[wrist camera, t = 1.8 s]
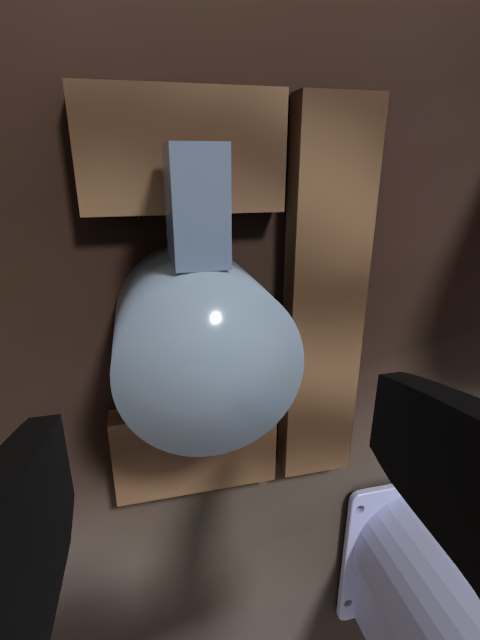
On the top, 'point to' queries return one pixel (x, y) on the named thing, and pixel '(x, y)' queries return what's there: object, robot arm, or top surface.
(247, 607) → the top surface
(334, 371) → the brown wooden panels
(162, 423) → the grey round flask
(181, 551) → the top surface
